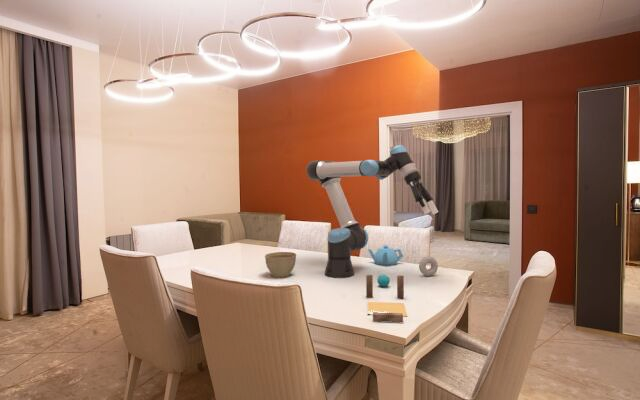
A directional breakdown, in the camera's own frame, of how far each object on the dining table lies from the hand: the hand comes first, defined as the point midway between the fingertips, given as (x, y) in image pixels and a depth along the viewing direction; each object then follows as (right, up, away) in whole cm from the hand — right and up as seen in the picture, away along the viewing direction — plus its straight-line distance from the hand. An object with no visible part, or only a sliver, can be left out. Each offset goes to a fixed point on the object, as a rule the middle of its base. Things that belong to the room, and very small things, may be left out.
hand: (432, 213), depth 171 cm
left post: (-32, -34, -19) cm, 50 cm away
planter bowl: (-73, -33, +19) cm, 82 cm away
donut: (+2, -32, +14) cm, 35 cm away
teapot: (-14, -31, +44) cm, 56 cm away
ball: (-23, -31, -4) cm, 39 cm away
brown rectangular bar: (-29, -35, -45) cm, 64 cm away
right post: (-19, -34, -21) cm, 44 cm away
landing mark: (-27, -35, -34) cm, 55 cm away
